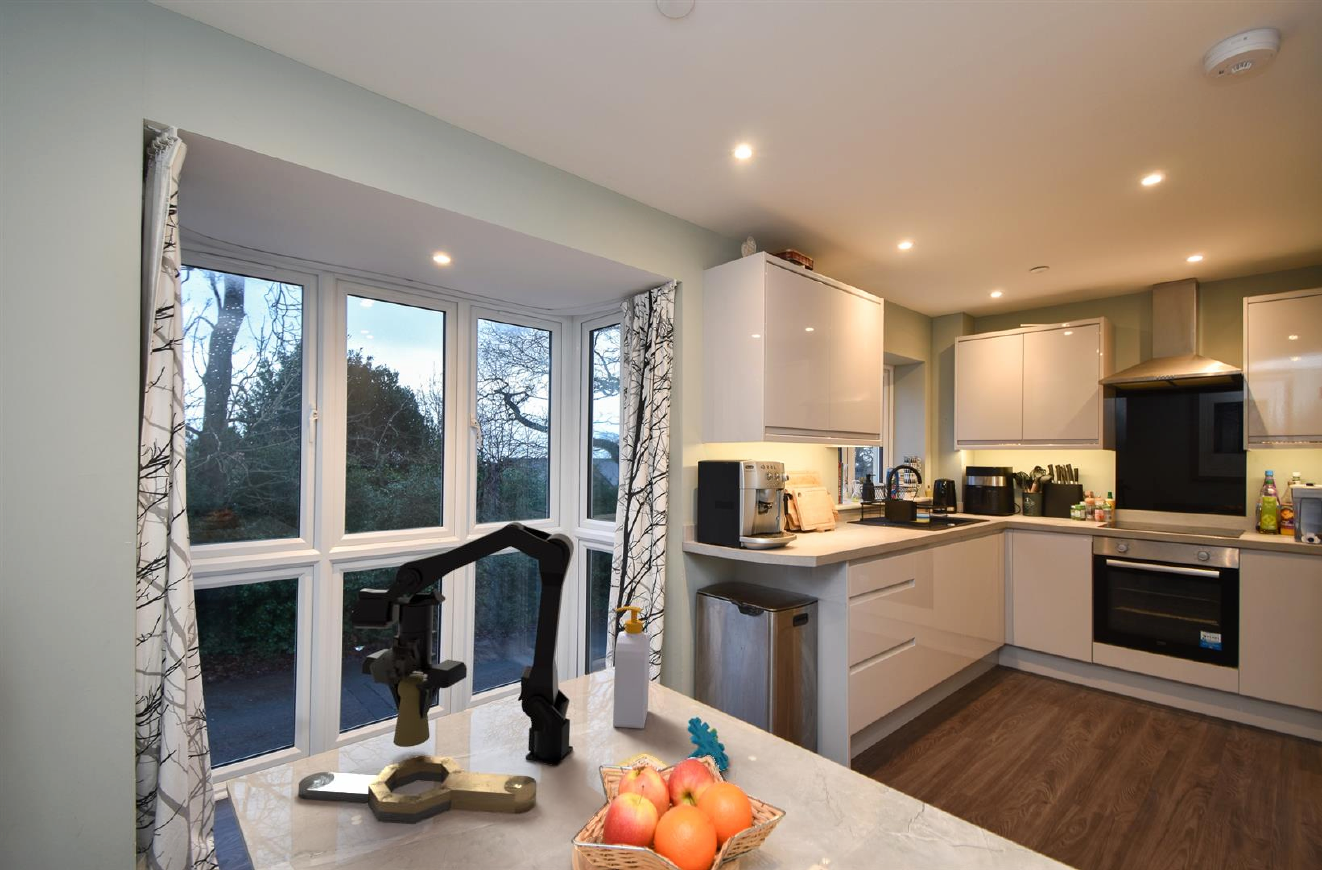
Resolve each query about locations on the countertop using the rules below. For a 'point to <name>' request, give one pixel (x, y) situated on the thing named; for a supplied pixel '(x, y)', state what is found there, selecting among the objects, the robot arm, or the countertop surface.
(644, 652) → the soap bottle
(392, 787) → the lower chain end
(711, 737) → the teal irregular branched piece
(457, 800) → the upper chain end
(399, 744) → the cork
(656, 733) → the countertop surface
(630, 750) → the countertop surface
